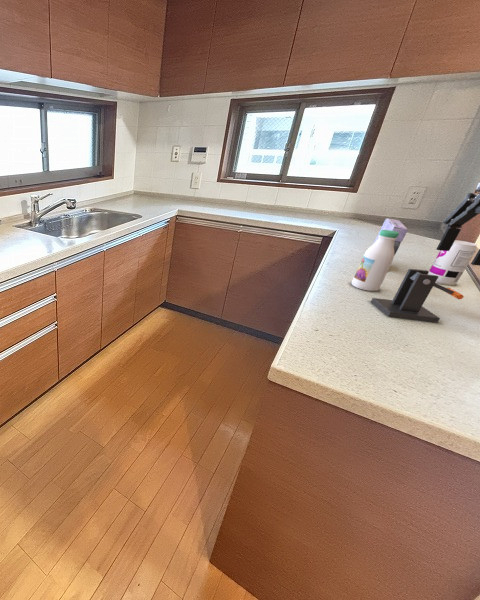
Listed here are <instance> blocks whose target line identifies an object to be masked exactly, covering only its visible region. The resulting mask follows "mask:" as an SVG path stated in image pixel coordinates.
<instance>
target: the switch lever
mask: <svg viewBox="0 0 480 600" xmlns="http://www.w3.org/2000/svg"><path fill="white" fill-rule="evenodd" d="M417 274H422V273H419V272H416V273H415V274H414V275H413V276H412V277H411V278H410V279H412V280H415V278H416V276H417ZM433 288H435V289H438V290H441V291H442V292H445V293H446V294H448V295H450V296H451V297H453V298H455V299H457V300H463V298H464V297H465V296H464V294H462V293H461V292H458V291H456V290H454V289H452V288H451V287H446V286H444V285H442V284H438V283H435V284H434V286H433Z"/></svg>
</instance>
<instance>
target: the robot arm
mask: <svg viewBox="0 0 480 600" xmlns="http://www.w3.org/2000/svg"><path fill="white" fill-rule="evenodd" d="M475 191H476V192H468V193H467V194H466V196H465V197H464V199H463V200H462V201H461V202H460V203H459V204H458V206H457V207H456V208H455V209H453V211H451V213H450V214H448V216H446V218H445V219H444V220H443V225H446V229H445V231H444V233H443V235H442V238H441V239H440V241H439V243H438V245H437V247H436V250H437V251H440V250H443V251H449V250H450V248H451V247H452V245H453V243H454V241H455V240H457V237H458V236H459V234H460V232H461V230H462V228H463V225H465V224H466V223H468V222H469V221H470V220H472V219H474V218H475V217H476V216H478V215H480V181H479V182H478V184H477V186H476V187H475ZM470 265H471V266H480V248H479V249H478V251H477V252H476V253H475V256H474V257H473V258H472V260H471V263H470Z"/></svg>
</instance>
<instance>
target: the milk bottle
mask: <svg viewBox="0 0 480 600" xmlns="http://www.w3.org/2000/svg"><path fill="white" fill-rule="evenodd" d="M398 235H399V233H398V232H396V231H391V230H381V232H380V234H379V238H378V240H377V241H376V242H375V241H374V242H375V243H374V242H373V243H372V245H370V246H369V247H368V248H367V249H366V251H365V252H364V254H363V256H362V259H361V261H360V262H359V265H358V267H357V268H356V269H357V270H356V271H355V274H354V276H353V278H352V281H351V285H352V286H353V287H354V288H357V289H360V290H363V291H368V292H377V291H379V290H380V288H381V286H382V285H383V282H384V280H385V278H386V276H387V274H388V272H389V270H390V268H391V266H392V263H393V262H394V261H393V260H394V258H395V256H394V241H395V240H396V239H397V237H398Z"/></svg>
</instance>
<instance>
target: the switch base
mask: <svg viewBox="0 0 480 600" xmlns="http://www.w3.org/2000/svg"><path fill="white" fill-rule="evenodd" d="M416 272H419V273H422V274H417V276H416V278H415V280H412V279H410V278H411V277H412V276H413V275H414V274H415V273H416ZM428 272H429V270H427V269H416V268H408V270H406V273H405V274H404V277H403V279H402V281H401V283H400V285H399V287H398V289H397V290H396V293H395V295H394V296H393V298H392V299H386V298H378V297H372V298H371V301H370V303H371V304H373V305H374V306H375V307H376V308H378V309H379V311H381V312H382V313H383V314H384V315H386V316H387V317H390V318H396V319H405V320H413V321H418V322H419V321H421V322H428V323H435V324H437V323H439V321H441V320H440V319H441V318H440V317H439V316H437V315H436V314H435V313H433V312H432V311H430V310H428V309H427V308H425V307H424V306H423V305H424V303H425V302H426V300H427V298H428V296H429V295H430V293H431V291H432V290H433V288H434V287H433V286H434V284H435V282H436V280H437V279H438V276H437V275H428Z"/></svg>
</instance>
